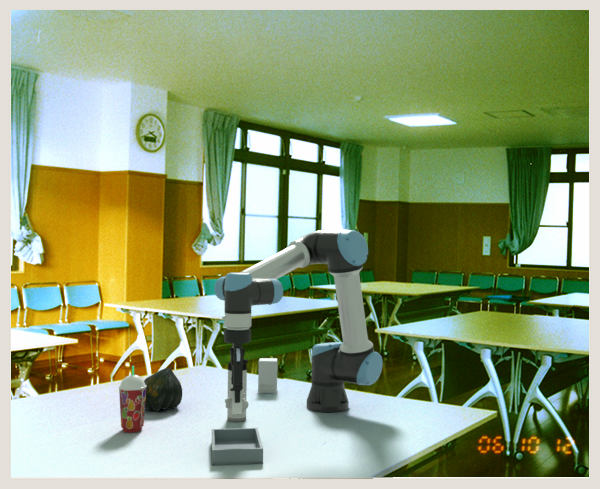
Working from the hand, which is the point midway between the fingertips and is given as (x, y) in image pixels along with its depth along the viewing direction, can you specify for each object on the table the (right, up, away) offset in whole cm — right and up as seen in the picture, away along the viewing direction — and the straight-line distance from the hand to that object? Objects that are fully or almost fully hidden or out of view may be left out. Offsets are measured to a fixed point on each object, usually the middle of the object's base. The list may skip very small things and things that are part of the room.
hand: (236, 410), depth 181 cm
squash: (-31, -12, +47) cm, 58 cm away
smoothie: (-34, -12, +20) cm, 42 cm away
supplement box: (+5, -12, +76) cm, 77 cm away
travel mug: (-3, -12, +34) cm, 36 cm away
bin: (0, -12, 0) cm, 12 cm away
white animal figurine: (0, -1, 0) cm, 1 cm away
